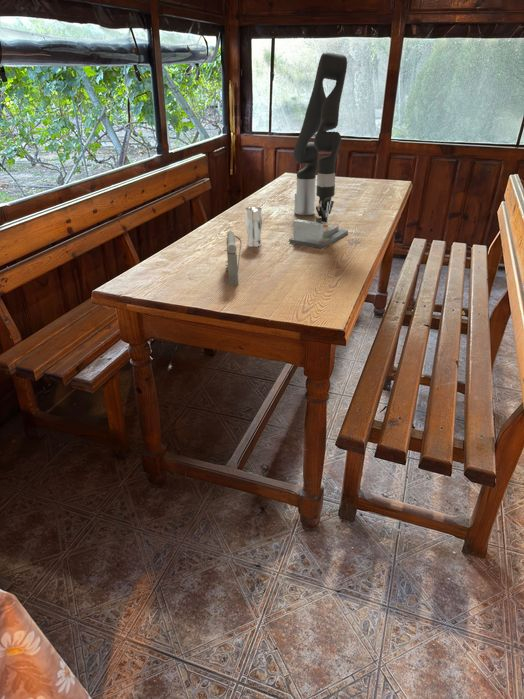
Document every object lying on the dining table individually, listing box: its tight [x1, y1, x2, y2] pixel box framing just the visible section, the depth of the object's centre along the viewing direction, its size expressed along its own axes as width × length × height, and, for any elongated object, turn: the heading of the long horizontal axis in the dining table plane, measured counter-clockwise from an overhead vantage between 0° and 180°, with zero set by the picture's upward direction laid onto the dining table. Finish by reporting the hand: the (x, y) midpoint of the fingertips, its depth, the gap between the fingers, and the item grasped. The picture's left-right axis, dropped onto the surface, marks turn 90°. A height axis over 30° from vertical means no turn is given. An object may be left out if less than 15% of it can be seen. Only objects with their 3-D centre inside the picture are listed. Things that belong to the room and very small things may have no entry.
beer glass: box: [244, 206, 263, 248], centre depth 202 cm, size 7×7×15 cm
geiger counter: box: [223, 230, 242, 286], centre depth 171 cm, size 14×6×25 cm
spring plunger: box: [313, 217, 329, 233], centre depth 209 cm, size 6×6×7 cm
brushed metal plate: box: [292, 219, 323, 244], centre depth 202 cm, size 12×3×8 cm, turn 58°
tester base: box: [288, 225, 349, 249], centre depth 212 cm, size 16×24×4 cm, turn 148°
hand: (324, 225), depth 213 cm, fingers closed
